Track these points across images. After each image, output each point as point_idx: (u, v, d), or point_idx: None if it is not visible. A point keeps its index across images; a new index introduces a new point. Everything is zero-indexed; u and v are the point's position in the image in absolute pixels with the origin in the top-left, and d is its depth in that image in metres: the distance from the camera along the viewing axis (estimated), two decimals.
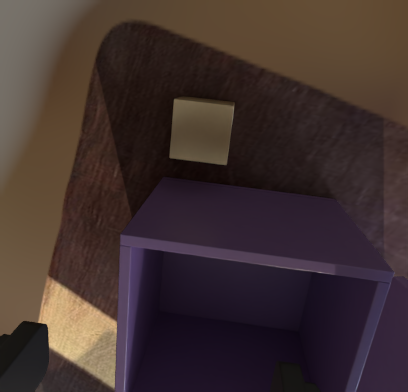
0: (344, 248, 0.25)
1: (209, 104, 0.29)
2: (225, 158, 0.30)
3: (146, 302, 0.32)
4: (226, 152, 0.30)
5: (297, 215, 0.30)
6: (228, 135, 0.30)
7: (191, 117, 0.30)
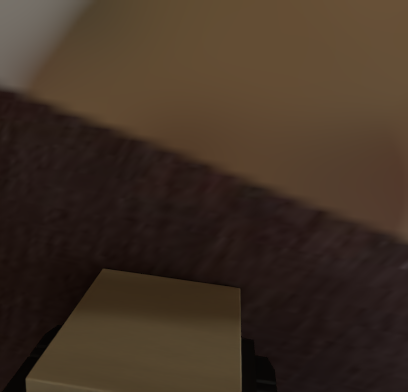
0: None
1: None
2: None
3: None
4: None
5: None
6: None
7: None
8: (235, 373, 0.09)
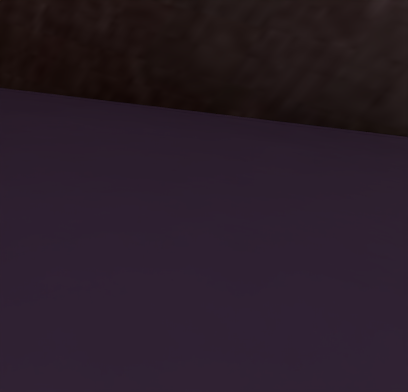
0: None
1: None
2: None
3: None
4: None
5: (375, 169, 0.06)
6: None
7: None
8: None
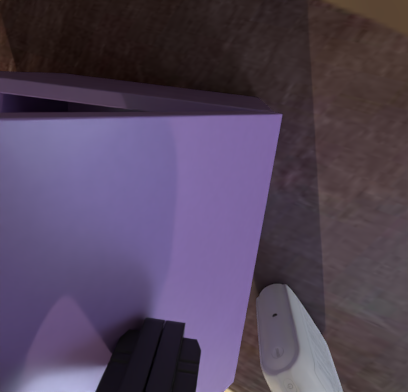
0: (227, 102, 0.20)
1: None
2: None
3: None
4: None
5: (196, 93, 0.25)
6: None
7: None
8: None
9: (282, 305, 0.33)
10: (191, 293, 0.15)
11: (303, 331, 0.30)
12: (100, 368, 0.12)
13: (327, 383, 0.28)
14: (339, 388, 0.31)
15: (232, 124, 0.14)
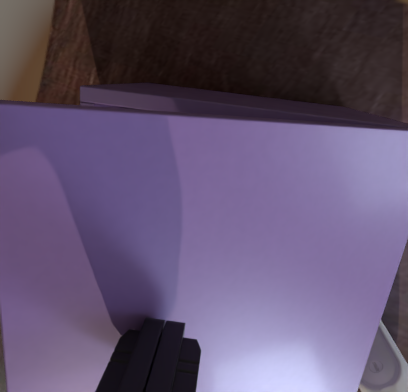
0: (362, 117, 0.20)
1: None
2: None
3: None
4: None
5: (303, 105, 0.25)
6: None
7: None
8: None
9: None
10: (316, 288, 0.17)
11: (393, 344, 0.30)
12: (228, 321, 0.15)
13: None
14: None
15: (378, 137, 0.15)
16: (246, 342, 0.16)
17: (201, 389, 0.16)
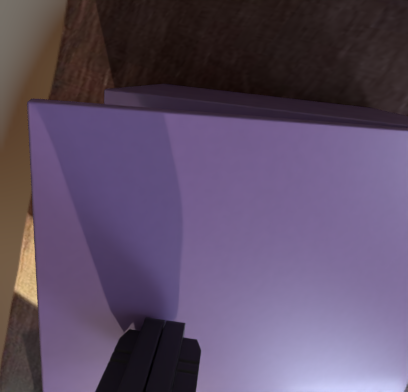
0: (405, 121, 0.19)
1: None
2: None
3: None
4: None
5: (333, 107, 0.24)
6: None
7: None
8: None
9: None
10: (351, 297, 0.16)
11: None
12: (256, 324, 0.15)
13: None
14: None
15: None
16: (274, 348, 0.16)
17: (227, 390, 0.16)
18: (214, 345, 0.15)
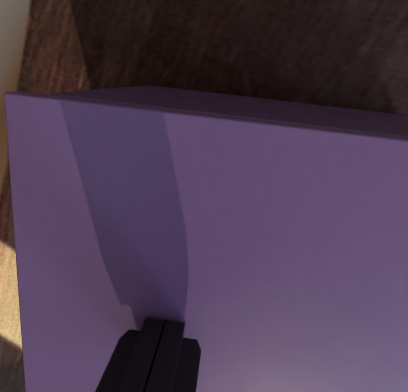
0: None
1: None
2: None
3: None
4: None
5: (358, 114, 0.19)
6: None
7: None
8: None
9: None
10: (364, 348, 0.13)
11: None
12: (234, 350, 0.13)
13: None
14: None
15: None
16: (259, 383, 0.14)
17: None
18: None
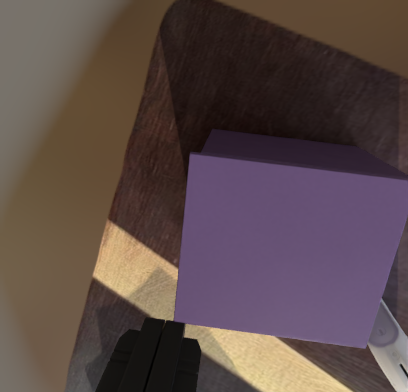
0: (372, 167, 0.32)
1: None
2: None
3: None
4: None
5: (330, 151, 0.37)
6: None
7: None
8: None
9: None
10: (327, 256, 0.31)
11: (393, 317, 0.42)
12: (273, 257, 0.31)
13: None
14: None
15: (364, 179, 0.29)
16: (283, 273, 0.32)
17: (257, 290, 0.32)
18: (252, 263, 0.32)
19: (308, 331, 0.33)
